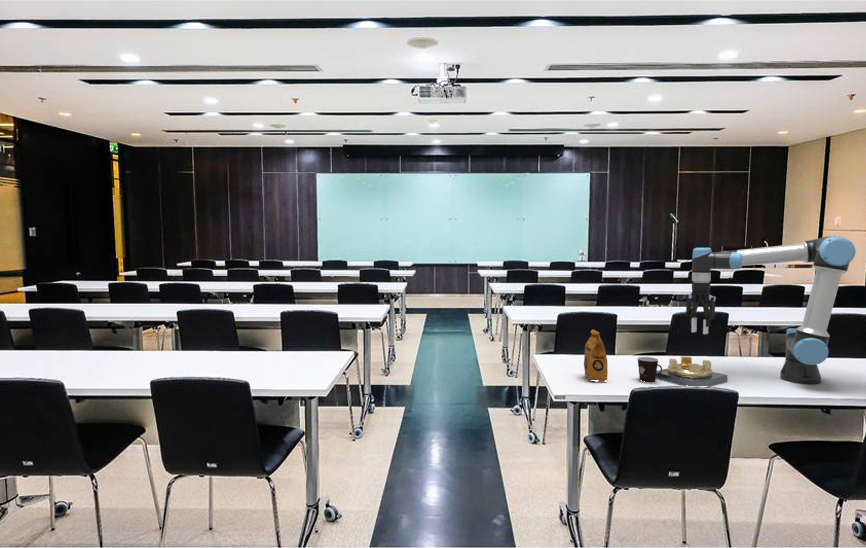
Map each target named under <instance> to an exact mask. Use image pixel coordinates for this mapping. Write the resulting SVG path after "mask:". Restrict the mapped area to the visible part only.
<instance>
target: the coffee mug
mask: <svg viewBox="0 0 866 548" xmlns="http://www.w3.org/2000/svg"><path fill="white" fill-rule="evenodd" d="M637 367H638V374H639V377H638V378H639V381H640V380H642V381H645V382H654V383H655V382H656V380H657V379H656V376H657V375H659V374H660V373H661V372H662V370H663V367H662V365H660V364H659V359H658V358H655V357H651V356H650V357H649V356H640V357H637ZM658 367H659V368H660V370H661V371H660V373H658V374H656V372H657V371H658ZM645 382H644V383H645Z"/></svg>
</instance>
